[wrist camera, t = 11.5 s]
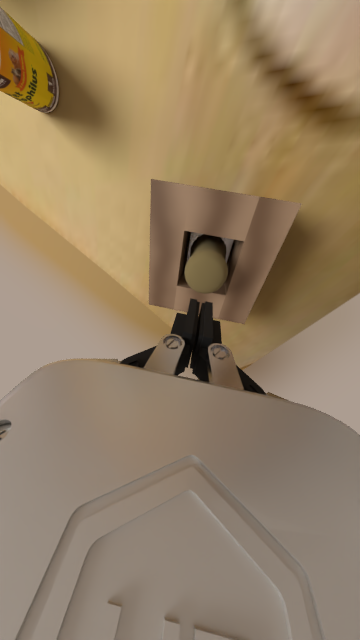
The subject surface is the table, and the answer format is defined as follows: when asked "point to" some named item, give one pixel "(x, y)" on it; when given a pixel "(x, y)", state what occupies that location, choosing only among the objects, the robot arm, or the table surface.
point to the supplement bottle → (26, 67)
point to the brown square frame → (222, 221)
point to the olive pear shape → (207, 264)
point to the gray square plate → (227, 241)
